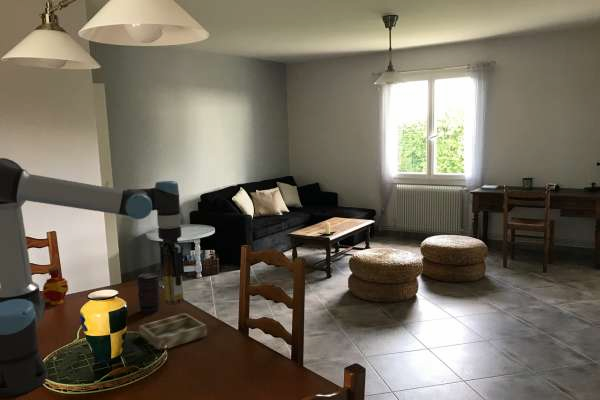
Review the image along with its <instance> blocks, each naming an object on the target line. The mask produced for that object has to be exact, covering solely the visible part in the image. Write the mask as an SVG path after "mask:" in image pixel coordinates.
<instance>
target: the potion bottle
mask: <svg viewBox="0 0 600 400" xmlns="http://www.w3.org/2000/svg"><path fill="white" fill-rule="evenodd" d="M59 269H60V268H59V267H58V268H57V267H54V268H53V267H52V268H49V269H48V275H49V276H50V278H47V279H46V281H45V283H44V284H43V287H42V291H41V292H42V294H43V296H44V297H45V298H47V299H48V300H49V301H50V305H53V306H55V305H60V304H63V303H64V300H63V299H64V298H65V296H66V294H67V293H68V292H69V285H68V280H67V279H66V278H64V277H60V276H59V274H61V271H60V270H59Z"/></svg>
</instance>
